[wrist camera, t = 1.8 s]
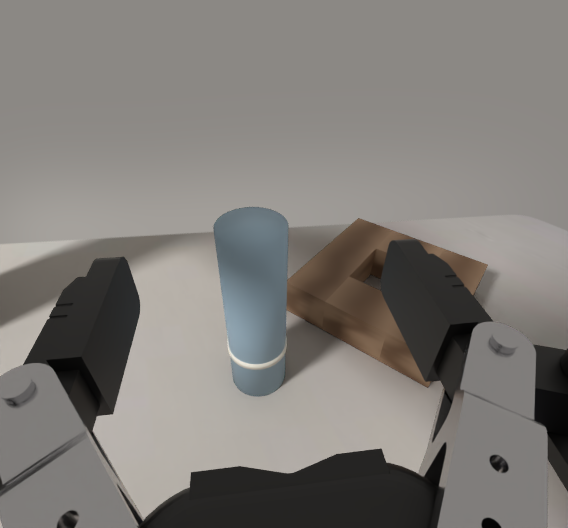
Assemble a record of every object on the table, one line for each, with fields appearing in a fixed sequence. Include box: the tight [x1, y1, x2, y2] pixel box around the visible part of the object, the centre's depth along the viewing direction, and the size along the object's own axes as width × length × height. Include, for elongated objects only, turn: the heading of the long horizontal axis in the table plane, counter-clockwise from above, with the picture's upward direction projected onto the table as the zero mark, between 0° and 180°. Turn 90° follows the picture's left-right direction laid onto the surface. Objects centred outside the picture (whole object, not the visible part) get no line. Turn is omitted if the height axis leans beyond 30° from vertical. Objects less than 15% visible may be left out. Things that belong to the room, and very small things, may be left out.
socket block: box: [286, 218, 488, 388], centre depth 39 cm, size 16×16×4 cm
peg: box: [214, 207, 288, 396], centre depth 28 cm, size 5×5×16 cm
